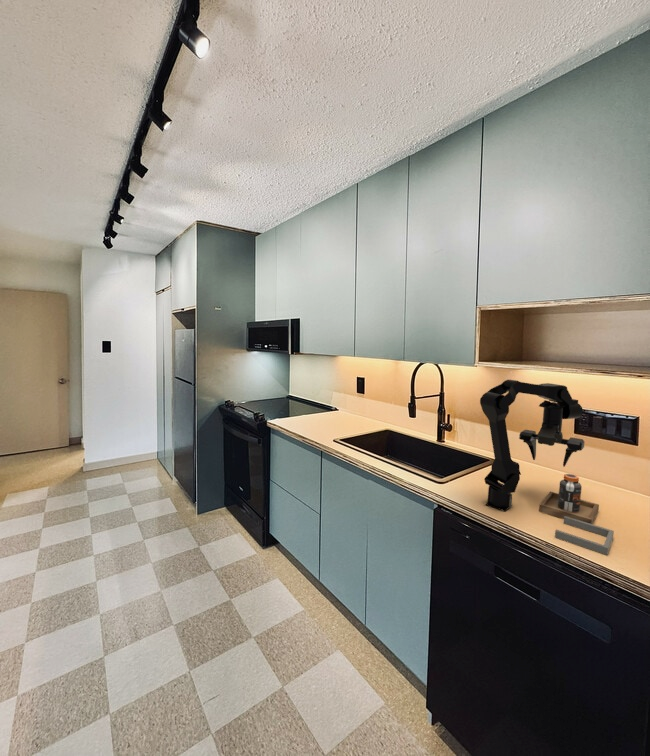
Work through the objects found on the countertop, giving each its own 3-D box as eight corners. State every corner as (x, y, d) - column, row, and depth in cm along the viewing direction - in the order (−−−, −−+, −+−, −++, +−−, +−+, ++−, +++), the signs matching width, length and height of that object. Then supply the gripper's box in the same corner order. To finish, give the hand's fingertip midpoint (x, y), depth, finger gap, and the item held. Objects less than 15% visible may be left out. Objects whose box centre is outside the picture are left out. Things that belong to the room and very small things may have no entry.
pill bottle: (574, 514, 114) (578, 480, 113) (554, 507, 119) (557, 474, 118) (582, 509, 118) (585, 476, 116) (562, 502, 122) (564, 470, 121)
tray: (538, 511, 118) (539, 504, 118) (549, 498, 128) (550, 491, 128) (590, 527, 109) (591, 519, 108) (598, 511, 118) (599, 504, 118)
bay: (554, 537, 103) (555, 530, 103) (564, 522, 112) (564, 515, 111) (607, 555, 95) (608, 548, 95) (613, 537, 103) (613, 530, 103)
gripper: (515, 419, 126) (512, 462, 127) (580, 429, 113) (575, 476, 114) (525, 414, 133) (522, 454, 135) (586, 423, 120) (582, 467, 122)
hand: (548, 463), depth 127 cm, fingers open, 9 cm apart
